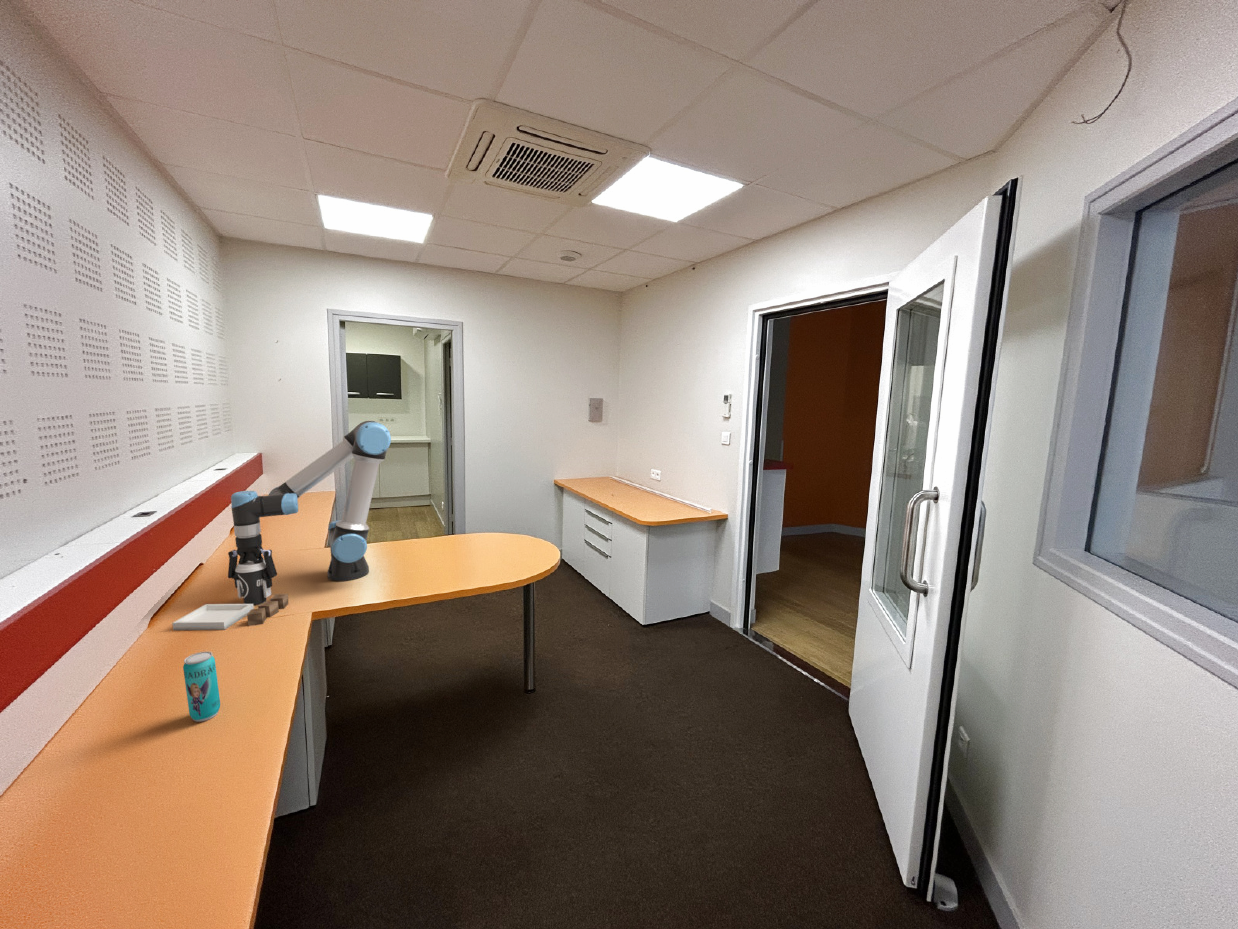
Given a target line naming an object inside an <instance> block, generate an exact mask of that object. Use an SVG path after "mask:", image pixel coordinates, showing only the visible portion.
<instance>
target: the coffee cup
mask: <svg viewBox="0 0 1238 929" xmlns="http://www.w3.org/2000/svg"><path fill="white" fill-rule="evenodd" d="M257 560H259V559H257ZM264 568H266V564H265V560H264V558H263V562H261V563H258V564H254V562H253V561H247V562H246V563H244V564H239V562H237V567H236V569H235V571H236V572H237V574H238V578H239V582H240V586H241V591H242V595H243V597H242V599H243V604H253V606H254V607H255V606H258V605H260V604H262V603H264V602H266V601H268V600H267V598H268V597H267V598H264V590H263V581H262V580H264V579H265V578H264V577H263V575H262V569H264Z"/></svg>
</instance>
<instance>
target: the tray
mask: <svg viewBox="0 0 1238 929" xmlns="http://www.w3.org/2000/svg"><path fill="white" fill-rule="evenodd" d="M252 609H255V606H253V604H244V603H206V604H203V605H202V606H200V607H198V608H196V609H194V610H192V611H191V612H189V613H187V614H185V615H183V616H182V617H180V618H178V619H177V620H175V621H173V622H172V624H171V625H172V631H210V630H212V631H215V630H216V631H219V630H220V631H223V630H224V631H225V630H226V629H228V628H229V627H230V626H231V627H232V625H234V624H236V623H237V622H238V621H240V620H242V619H243V618H244V617H247V614H248V613H249V611H250V610H252Z"/></svg>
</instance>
